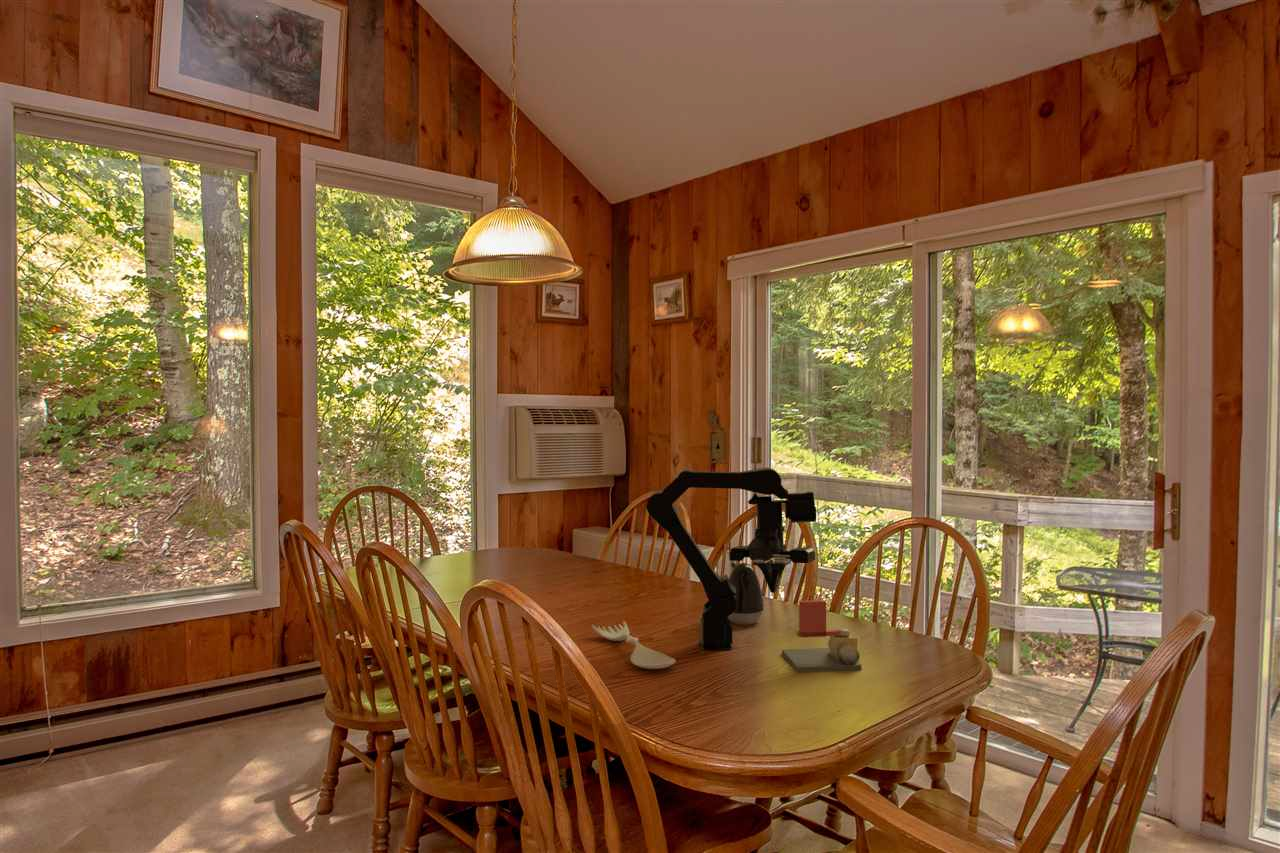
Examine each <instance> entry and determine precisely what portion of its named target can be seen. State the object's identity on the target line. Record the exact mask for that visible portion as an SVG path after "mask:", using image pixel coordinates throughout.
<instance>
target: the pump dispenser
mask: <svg viewBox="0 0 1280 853" xmlns="http://www.w3.org/2000/svg"><path fill="white" fill-rule="evenodd" d="M730 566H731V567H732V570H731V572H730V574H729V577H728V578H729V581H730V583H731V584H732V585H733V586H734V587H736V600H737V606H736V609H735V611H734V612H733V613H732V614H731V615H729V616H728V618H729V620H730V623H733V624H735V625H739V626H740V625H741V626H750V625H753V624H755V623H757V622H758V621H759V620H760V619H761V617H762V613H763V611H764V609H765V607H764V606H765V604H764V598H763V591H762V587H761V584H760V580H759V577H758V574H757V573H756V570H755V569H754V568H753V567H752V566H751V564H749V563H746V562H740V563H737V564H736V563H735V562H732V563H731V564H730Z"/></svg>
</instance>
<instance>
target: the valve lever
mask: <svg viewBox="0 0 1280 853" xmlns="http://www.w3.org/2000/svg"><path fill="white" fill-rule="evenodd" d="M798 610H799V611H798V615H799V616H798V618H799V619H798V624H799V625H798V627H799V628H798V630H797V631H796V636H797V637H799V638H825V637H830V636H849V632H850V629H848V628H837V629H827V601H826V600H825V599H822V600H821V599H817V600H816V599H815V600H799V601H798Z"/></svg>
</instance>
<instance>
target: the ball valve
mask: <svg viewBox="0 0 1280 853" xmlns="http://www.w3.org/2000/svg"><path fill="white" fill-rule="evenodd" d="M827 646H828V647H827V648H829V649H830V656H831V657H832V658H833V659H834V660H835V661H836V662H845V663H846V664H847V665H854V664H856V663H857V662H859V660H860V657H861V656H860V653H859V651H858V637H857V636H855V634H853V633H851V632H850V631H849V636H829V640H828V643H827Z"/></svg>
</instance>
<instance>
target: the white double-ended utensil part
mask: <svg viewBox="0 0 1280 853" xmlns="http://www.w3.org/2000/svg"><path fill="white" fill-rule="evenodd" d="M613 626H614V629H613V628H612V627H611V626H609V625H608V626H607V629H606V628H605V627H604V626H601V627H600V626H599V625H597V626H595V625H594V624H591V629H592V630H593V631H594V633H597V634H598V635H600V636H601V637H602V638H604V639H606V640H609V641H613V642H621V641H624V640H625V642H626V643H628V644H633V645H634V648H633V649H634V650H633V651H632V653H631V655H630V658H629V659H630V662H631V663H632V664H633V666H634V665H635V666H636V667H638V668H641V669H646V670H659V669H660V670H661V669H665V668H669V667H671V666H673V665H674V664H675V663H676V661H677V660H676V659H675V658H673V657H672V656H670V655H666V654H664V653H662V652H660V651H657V650H653V649H651V648H648V647H647V646H645V645H642V644H641V643H640V642H639V641H640V640H639V637H634V636H632V635H630V630H629V628H628V624H627V622H626V621H625V620H623V621H622V624H621V623H618V626H617V625H616V624H614V625H613ZM618 627H619V628H618Z"/></svg>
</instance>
